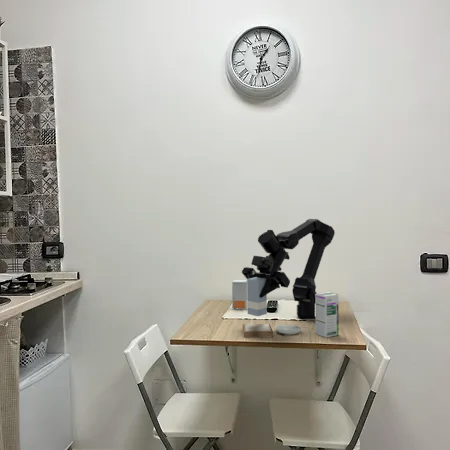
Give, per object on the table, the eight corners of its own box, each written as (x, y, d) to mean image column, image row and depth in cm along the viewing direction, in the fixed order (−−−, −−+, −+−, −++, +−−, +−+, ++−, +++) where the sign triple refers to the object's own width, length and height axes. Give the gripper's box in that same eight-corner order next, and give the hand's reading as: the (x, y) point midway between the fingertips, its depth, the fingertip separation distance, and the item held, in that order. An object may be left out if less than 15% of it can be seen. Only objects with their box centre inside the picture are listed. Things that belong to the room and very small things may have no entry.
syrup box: (325, 338, 163) (326, 295, 162) (315, 333, 169) (315, 292, 168) (339, 335, 166) (339, 294, 165) (327, 331, 171) (328, 291, 170)
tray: (270, 328, 175) (270, 323, 175) (272, 336, 165) (272, 331, 165) (242, 329, 175) (242, 323, 175) (243, 337, 165) (243, 331, 165)
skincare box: (232, 309, 206) (231, 281, 205) (233, 307, 210) (233, 279, 209) (246, 309, 205) (245, 281, 204) (247, 307, 209) (247, 280, 208)
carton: (256, 311, 173) (255, 277, 173) (266, 313, 170) (266, 278, 169) (247, 313, 170) (247, 278, 169) (258, 316, 167) (257, 280, 166)
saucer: (299, 328, 175) (299, 324, 175) (303, 336, 166) (303, 331, 166) (274, 329, 175) (274, 324, 175) (277, 336, 166) (277, 331, 166)
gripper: (244, 245, 178) (223, 279, 171) (284, 249, 165) (264, 285, 158) (258, 264, 184) (239, 297, 177) (298, 269, 171) (279, 305, 164)
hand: (254, 296), depth 169 cm, fingers closed on carton, 5 cm apart
